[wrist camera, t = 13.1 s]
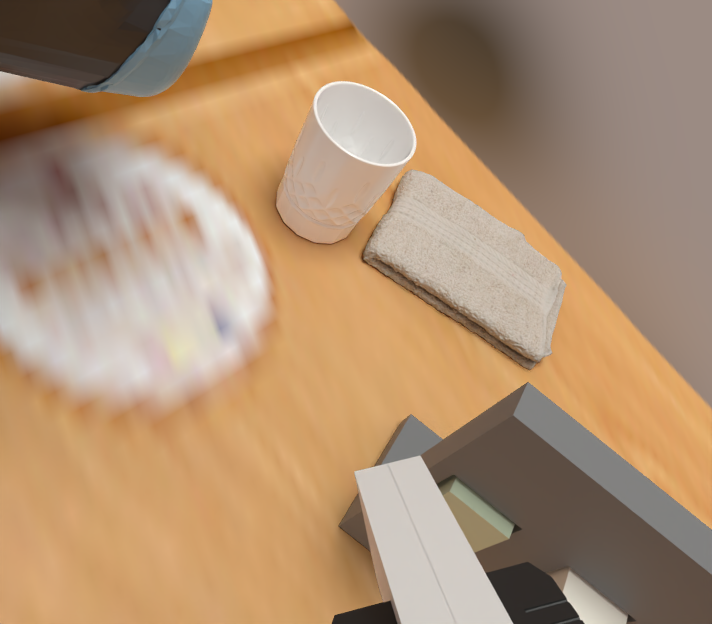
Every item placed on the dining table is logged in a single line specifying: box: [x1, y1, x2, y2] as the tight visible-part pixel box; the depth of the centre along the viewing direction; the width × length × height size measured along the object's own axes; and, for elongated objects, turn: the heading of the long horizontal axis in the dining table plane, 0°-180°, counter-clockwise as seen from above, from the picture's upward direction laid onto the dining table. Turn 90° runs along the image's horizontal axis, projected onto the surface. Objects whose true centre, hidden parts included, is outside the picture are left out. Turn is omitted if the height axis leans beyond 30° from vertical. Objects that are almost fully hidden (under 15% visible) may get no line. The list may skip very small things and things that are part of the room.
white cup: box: [276, 81, 416, 244], centre depth 49 cm, size 8×8×10 cm
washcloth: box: [363, 170, 566, 370], centre depth 56 cm, size 12×18×3 cm, turn 66°
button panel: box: [339, 382, 712, 624], centre depth 36 cm, size 20×9×18 cm, turn 58°
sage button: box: [436, 474, 515, 553], centre depth 33 cm, size 4×4×4 cm
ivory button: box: [546, 566, 628, 624], centre depth 32 cm, size 4×4×4 cm
